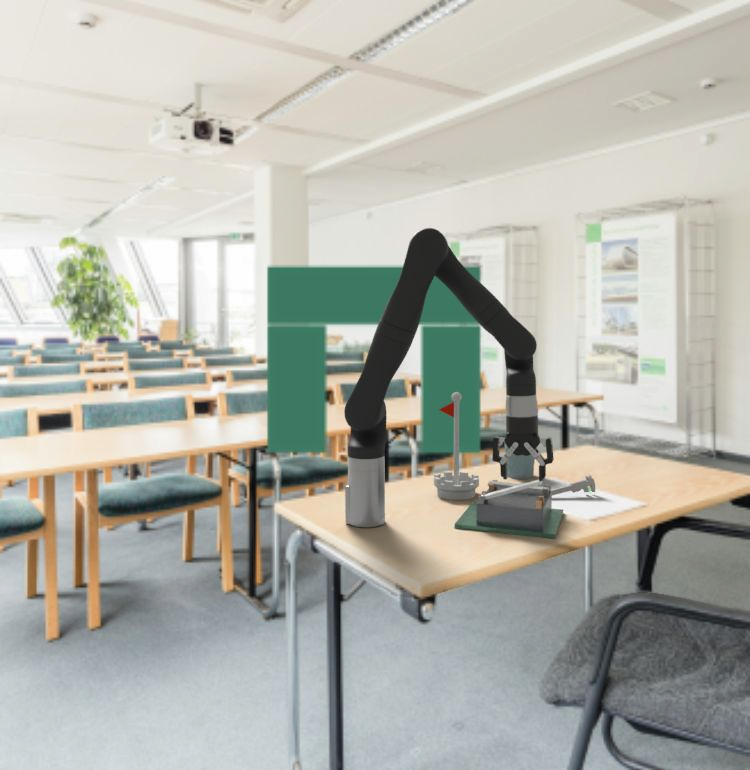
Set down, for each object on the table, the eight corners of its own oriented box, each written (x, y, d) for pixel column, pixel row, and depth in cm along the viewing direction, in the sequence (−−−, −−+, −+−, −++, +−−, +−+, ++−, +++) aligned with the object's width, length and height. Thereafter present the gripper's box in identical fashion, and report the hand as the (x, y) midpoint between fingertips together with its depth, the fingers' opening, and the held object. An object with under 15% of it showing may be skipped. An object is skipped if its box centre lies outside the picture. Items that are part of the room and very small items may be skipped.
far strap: (549, 491, 176) (549, 486, 175) (548, 494, 173) (548, 489, 173) (489, 484, 181) (489, 479, 181) (487, 486, 178) (487, 482, 178)
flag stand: (477, 489, 203) (478, 389, 199) (480, 501, 190) (481, 394, 186) (433, 488, 204) (434, 389, 201) (433, 500, 191) (433, 394, 188)
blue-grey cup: (533, 472, 222) (534, 436, 221) (538, 480, 212) (538, 442, 211) (502, 472, 223) (502, 436, 222) (505, 479, 213) (505, 442, 212)
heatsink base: (454, 527, 166) (454, 496, 166) (473, 504, 186) (473, 477, 185) (555, 538, 158) (555, 506, 157) (563, 513, 177) (564, 484, 177)
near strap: (480, 501, 167) (478, 497, 167) (482, 498, 170) (481, 494, 170) (541, 485, 161) (539, 480, 161) (543, 482, 164) (541, 477, 164)
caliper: (593, 495, 195) (593, 474, 195) (595, 496, 194) (595, 475, 193) (526, 499, 192) (526, 478, 191) (528, 500, 190) (528, 478, 190)
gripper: (489, 415, 162) (491, 482, 163) (550, 416, 157) (551, 484, 158) (495, 411, 169) (496, 474, 170) (553, 411, 163) (555, 477, 165)
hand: (523, 479), depth 164 cm, fingers open, 8 cm apart
